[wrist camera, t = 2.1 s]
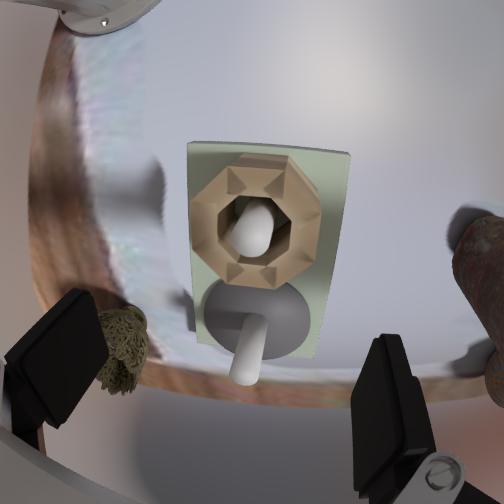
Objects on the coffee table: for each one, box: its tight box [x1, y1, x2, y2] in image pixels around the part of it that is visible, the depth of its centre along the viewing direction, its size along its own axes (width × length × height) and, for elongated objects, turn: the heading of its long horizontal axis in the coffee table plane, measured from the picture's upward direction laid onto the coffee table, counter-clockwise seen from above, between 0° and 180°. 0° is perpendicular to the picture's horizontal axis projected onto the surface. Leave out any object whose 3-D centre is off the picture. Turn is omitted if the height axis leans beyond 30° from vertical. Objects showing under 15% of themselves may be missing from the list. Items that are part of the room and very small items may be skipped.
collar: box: [190, 152, 322, 290], centre depth 19 cm, size 7×7×5 cm
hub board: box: [187, 141, 351, 386], centre depth 21 cm, size 18×11×8 cm, turn 177°
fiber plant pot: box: [95, 305, 149, 396], centre depth 26 cm, size 8×7×8 cm
